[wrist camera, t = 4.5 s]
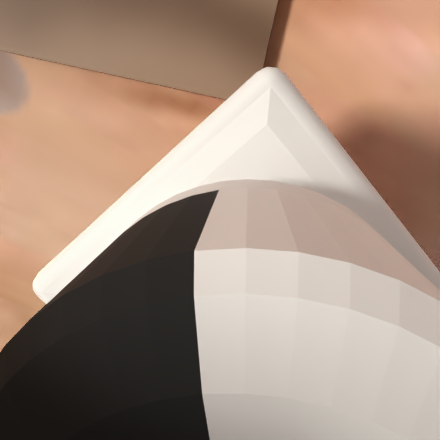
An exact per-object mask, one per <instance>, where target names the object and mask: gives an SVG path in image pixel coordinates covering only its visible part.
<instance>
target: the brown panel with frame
mask: <svg viewBox="0 0 440 440" xmlns="http://www.w3.org/2000/svg"><path fill="white" fill-rule="evenodd" d="M277 3H278V0H0V50H1V51H5V52H10V53H15V54H19V55H24V56H28V57H33V58H37V59H42V60H47V61H51V62H56V63H60V64H65V65H70V66H74V67H79V68H83V69H88V70H93V71H97V72H102V73H106V74H111V75H115V76H120V77H125V78H129V79H134V80H138V81H143V82H148V83H152V84H157V85H161V86H166V87H170V88H175V89H180V90H184V91H189V92H193V93H198V94H203V95H207V96H212V97H216V98H221V99H226V100H227V99H228V98H229V97H230V96H231V95H232V94H233V93H234V92H235V91H237V90H238V89H239V88H240V87H241V86H242V85H243V84H244V83H245V82H246V81H247V80H249V79H250V78H251V77H252V76H253V75H254V74H255V73H256V72H258V71H260V70H261V69H263V65H264V61H265V56H266V52H267V47H268V43H269V39H270V34H271V30H272V25H273V21H274V16H275V12H276V8H277Z"/></svg>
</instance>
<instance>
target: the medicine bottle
mask: <svg viewBox="0 0 440 440" xmlns="http://www.w3.org/2000/svg"><path fill="white" fill-rule="evenodd" d="M33 290H34V292H35V293H36V295H37V296H38V297H39V298H40V299H41V300H42V301H43V302H44V303H45V304H46V305H45V306H44V307H43V308H42V309H41V310H40V311H39V312H38V313H36V314H35V315H34V316H33V317H32V318H31V319H30V320H29V321H28V322H27V323H26V324H25V325H24V326H23V327H22V328H21V330H20V331H19V332H18V333H17V334H16V335H15V336H14V337H13V338H12V339H11V340H10V341H9V342H8V343H7V344H6V345H5V346H4V348H3V349H2V351H1V352H0V440H440V272H439V270H438V269H437V268H436V266H435V265H434V264H433V263H432V261H431V260H430V259H429V257H428V256H427V255H426V254H425V252H424V251H423V250H422V248H421V247H420V246H419V245H418V243H417V242H416V241H415V239H414V238H413V237H412V236H411V234H410V233H409V232H408V230H407V229H406V228H405V227H404V225H403V224H402V223H401V221H400V220H399V219H398V218H397V216H396V215H395V214H394V212H393V211H392V210H391V209H390V207H389V206H388V205H387V203H386V202H385V201H384V200H383V198H382V197H381V196H380V194H379V193H378V192H377V191H376V189H375V188H374V187H373V185H372V184H371V183H370V182H369V180H368V179H367V178H366V176H365V175H364V174H363V173H362V171H361V170H360V169H359V168H358V166H357V165H356V164H355V162H354V161H353V160H352V159H351V157H350V156H349V155H348V153H347V152H346V151H345V150H344V148H343V147H342V146H341V144H340V143H339V142H338V141H337V139H336V138H335V137H334V135H333V134H332V133H331V132H330V130H329V129H328V128H327V126H326V125H325V124H324V123H323V121H322V120H321V119H320V117H319V116H318V115H317V114H316V112H315V111H314V110H313V108H312V107H311V106H310V105H309V103H308V102H307V101H306V99H305V98H304V97H303V96H302V94H301V93H300V92H299V90H298V89H297V88H296V87H295V85H294V84H293V83H292V81H291V80H290V79H289V78H288V76H287V75H286V74H285V73H284V72H282V71H281V70H280V69H278V68H276V67H265V68H263V69H261V70H260V71H258V72H256V73H255V74H254V75H253V76H252V77H251V78H250V79H249V80H247V81H246V82H245V83H244V84H243V85H242V86H241V87H240V88H239V89H238V90H237V91H235V92H234V93H233V94H232V95H231V96H230V97H229V98H228V99H227V100H226V101H225V102H223V103H222V104H221V105H220V106H219V107H218V108H217V109H216V110H215V111H214V112H213V113H212V114H210V115H209V116H208V117H207V118H206V119H205V120H204V121H203V122H202V123H201V124H200V125H198V126H197V127H196V128H195V129H194V130H193V131H192V132H191V133H190V134H189V135H188V136H186V137H185V138H184V139H183V140H182V141H181V142H180V143H179V144H178V145H177V146H176V147H174V148H173V149H172V150H171V151H170V152H169V153H168V154H167V155H166V156H165V157H164V158H163V159H161V160H160V161H159V162H158V163H157V164H156V165H155V166H154V167H153V168H152V169H151V170H149V171H148V172H147V173H146V174H145V175H144V176H143V177H142V178H141V179H140V180H139V181H137V182H136V183H135V184H134V185H133V186H132V187H131V188H130V189H129V190H128V191H127V192H125V193H124V194H123V195H122V196H121V197H120V198H119V199H118V200H117V201H116V202H115V203H114V204H112V205H111V206H110V207H109V208H108V209H107V210H106V211H105V212H104V213H103V214H102V215H100V216H99V217H98V218H97V219H96V220H95V221H94V222H93V223H92V224H91V225H90V226H88V227H87V228H86V229H85V230H84V231H83V232H82V233H81V234H80V235H79V236H78V237H76V238H75V239H74V240H73V241H72V242H71V243H70V244H69V245H68V246H67V247H66V248H65V249H63V250H62V251H61V252H60V253H59V254H58V255H57V256H56V257H55V258H54V259H53V260H51V261H50V262H49V263H48V264H47V265H46V266H45V267H44V268H43V269H42V270H41V271H39V273H38V274H37V276H36V278H35V279H34V281H33Z"/></svg>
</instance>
